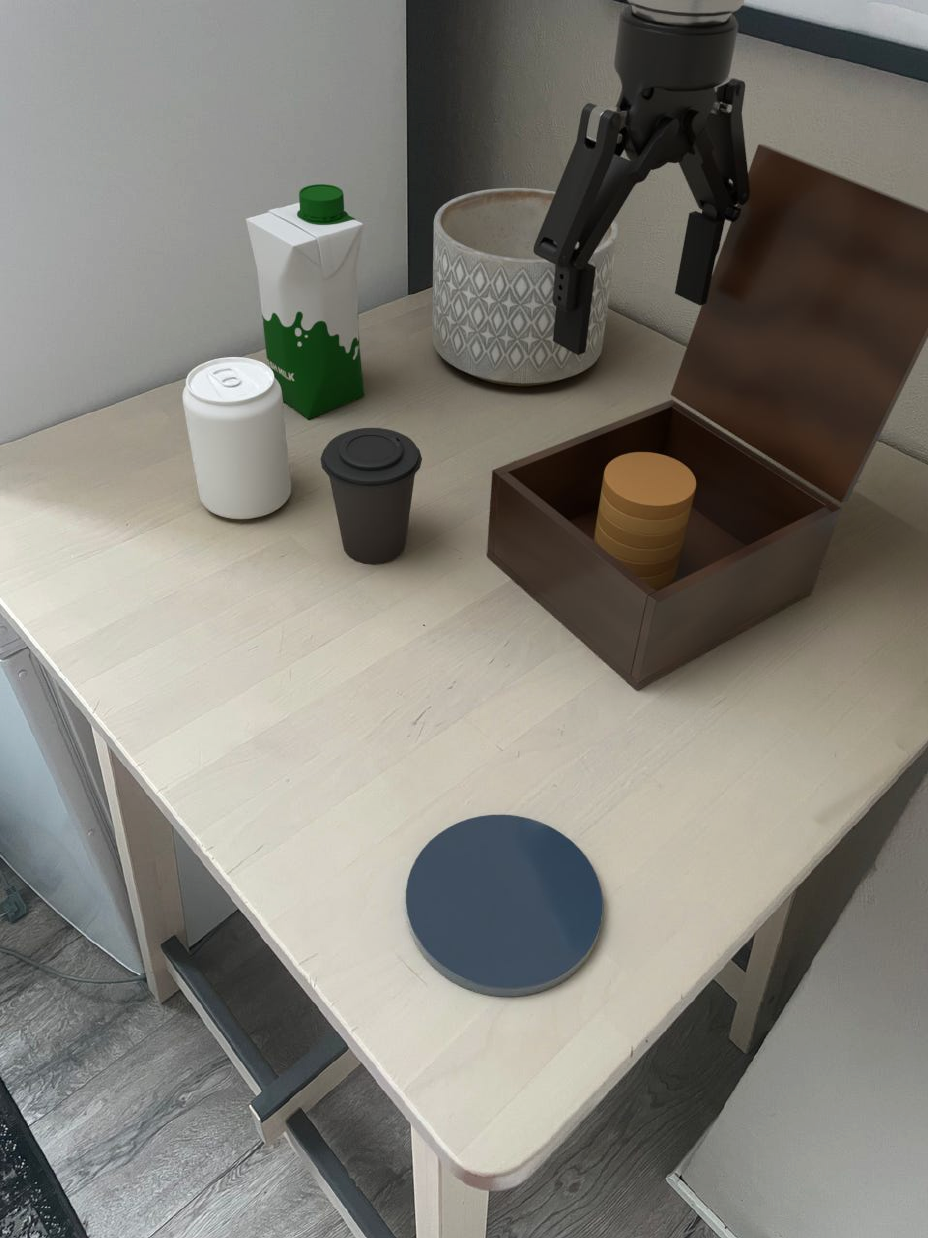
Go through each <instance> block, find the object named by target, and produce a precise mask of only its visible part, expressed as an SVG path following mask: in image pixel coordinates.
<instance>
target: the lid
mask: <svg viewBox="0 0 928 1238" xmlns="http://www.w3.org/2000/svg"><path fill="white" fill-rule="evenodd" d="M748 178H749V187H750V196H749V199H748V201H747V202H746V203H745V204H744V205H740V204H737V205H736V206H738V207H740V208H741V214H740V216H739V218H738V219H737V220H736V221H735V222H730V224H729V227H728V229H727V232H726V235H725V237H724V240H723V244H722V246H721V249H720V252H719V255H718V258H717V261H716V262H715V263H716V264H715V265H714V268H713V273H712V278H711V283H710V288H709V293H708V298H707V303H706V304H703V305H701V307H700V309H699V311H698V315H697V317H696V320H695V324H694V326H693V329H692V332H691V335H690V337H689V340H688V343H687V346H686V349H685V351H684V354H683V358H682V360H681V363H680V366H679V369H678V371H677V375H676V378H675V380H674V382H673V386H672V389H671V392H670V396H672V397H673V398H675V399H676V400H677V401H680V402H681V403H683V404H685V405H686V406H688V407H689V408H691V409H692V410H694V411H695V412H697V413H699V414H700V415H702V416H703V417H705V418H707V420H710V421H711V422H713V423H715V424H716V425H718V426H719V427H721V428H722V429H724V430H726V431H727V432H728V433H730V434H732V435H733V436H735V437H736V438H738V439H740V440H741V441H743V442H745V443H746V444H748V445H749V446H750V447H752V448H754V449H756V450H757V451H759V452H760V453H762V454H763V455H765V456H766V457H768V458H770V459H771V460H773V461H774V462H776V463H777V464H779V465H780V466H782V467H784V468H785V469H787V470H788V471H790V472H792V473H793V474H795V475H796V476H798V477H800V478H801V479H803V480H805V481H806V482H808V483H809V484H811V485H813V486H814V487H816V488H817V489H819V490H820V491H822V492H823V493H825V494H827V495H828V496H829V497H831V498H833V499H834V500H836V501H837V502H839V503H840V504H842V503H843V504H844V503H846V502H848V501H849V499H850V497H851V495H852V493H853V491H854V490H855V487H856V485H857V483H858V481H859V478H860V477H861V475H862V472H863V470H864V469H865V467H866V465H867V462H868V460H869V458H870V456H871V454H872V452H873V450H874V448H875V447H876V444H877V442H878V441H879V438H880V436H881V433H882V432H883V430H884V427H885V426H886V424H887V422H888V420H889V418H890V416H891V414H892V411H893V409H894V407H895V405H896V403H897V401H898V399H899V398H900V395H901V393H902V391H903V388H904V387H905V385H906V383H907V381H908V379H909V377H910V376H911V375H910V374H911V373H912V370H913V369H914V367H915V364H916V363H917V360H918V358H919V356H920V354H921V352H922V350H923V348H924V347H925V344H926V342H927V340H928V209H926V208H924V207H922V206H919V205H916V204H914V203H911V202H909V201H906V200H904V199H901V198H899V197H897V196H894V195H891V194H889V193H886V192H884V191H881V190H879V189H876V188H874V187H871V186H869V185H867V184H864V183H861V182H859V181H856V180H854V179H851V178H849V177H846V176H844V175H841V174H839V173H836V172H835V171H832V170H830V169H826V168H824V167H822V166H819V165H817V164H814V163H812V162H809V161H806V160H804V159H802V158H799V157H797V156H795V155H792V154H789V153H787V152H784V151H782V150H780V149H777V148H774V147H772V146H769V145H767V144H761V143H758V145H757V146H756V149H755V152H754V155H753V158H752V160H751V164H750V165H749V169H748Z"/></svg>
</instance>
